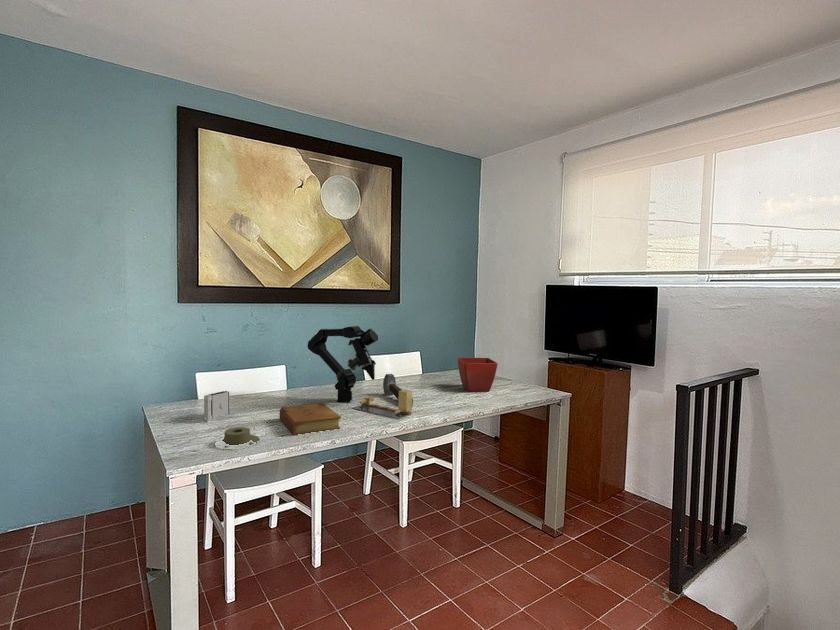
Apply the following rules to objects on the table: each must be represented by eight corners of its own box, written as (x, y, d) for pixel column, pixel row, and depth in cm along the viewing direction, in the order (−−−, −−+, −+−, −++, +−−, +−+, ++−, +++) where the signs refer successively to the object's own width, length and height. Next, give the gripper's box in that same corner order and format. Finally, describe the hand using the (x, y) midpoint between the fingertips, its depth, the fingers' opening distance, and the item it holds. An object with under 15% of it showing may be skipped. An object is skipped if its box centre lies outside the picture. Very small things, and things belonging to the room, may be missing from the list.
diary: (279, 421, 188) (279, 407, 187) (322, 415, 197) (322, 403, 197) (293, 437, 168) (293, 421, 168) (340, 430, 177) (340, 415, 177)
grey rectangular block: (207, 423, 181) (207, 398, 181) (197, 421, 183) (196, 397, 182) (230, 413, 195) (230, 391, 194) (220, 412, 196) (220, 390, 195)
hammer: (413, 414, 214) (390, 392, 241) (415, 391, 212) (392, 372, 239) (404, 415, 212) (382, 393, 238) (406, 392, 210) (383, 373, 236)
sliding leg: (391, 414, 196) (392, 393, 195) (404, 410, 204) (404, 389, 203) (399, 416, 193) (400, 394, 193) (411, 411, 201) (412, 390, 201)
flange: (234, 422, 168) (204, 434, 154) (268, 427, 164) (240, 440, 150) (234, 434, 169) (204, 448, 154) (268, 439, 164) (240, 453, 150)
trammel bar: (355, 407, 209) (355, 398, 209) (366, 404, 215) (366, 395, 215) (402, 418, 194) (402, 408, 194) (411, 414, 200) (412, 405, 200)
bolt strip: (352, 408, 207) (352, 407, 207) (362, 405, 213) (362, 404, 213) (398, 419, 192) (398, 417, 192) (408, 415, 198) (408, 414, 198)
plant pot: (497, 393, 247) (498, 362, 246) (463, 393, 244) (464, 362, 243) (487, 385, 265) (488, 357, 264) (456, 385, 263) (456, 357, 262)
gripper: (349, 358, 224) (361, 387, 221) (341, 355, 206) (354, 386, 203) (369, 349, 225) (381, 377, 222) (363, 345, 206) (376, 376, 203)
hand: (373, 379), depth 212 cm, fingers closed
